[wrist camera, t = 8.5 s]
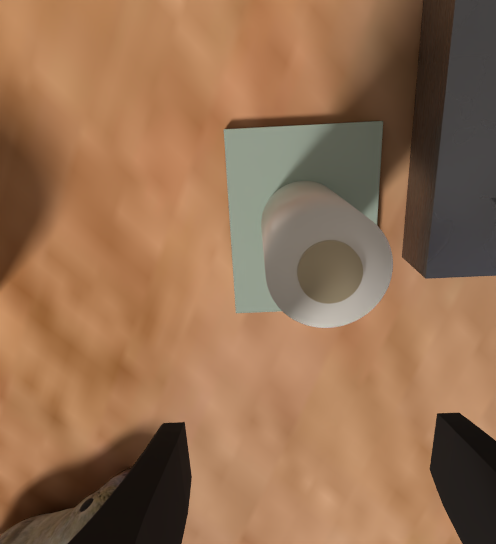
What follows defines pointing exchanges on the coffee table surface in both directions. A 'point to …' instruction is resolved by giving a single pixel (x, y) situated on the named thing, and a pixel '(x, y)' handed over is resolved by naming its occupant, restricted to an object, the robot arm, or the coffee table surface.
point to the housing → (454, 143)
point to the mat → (286, 169)
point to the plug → (322, 256)
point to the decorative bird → (60, 519)
